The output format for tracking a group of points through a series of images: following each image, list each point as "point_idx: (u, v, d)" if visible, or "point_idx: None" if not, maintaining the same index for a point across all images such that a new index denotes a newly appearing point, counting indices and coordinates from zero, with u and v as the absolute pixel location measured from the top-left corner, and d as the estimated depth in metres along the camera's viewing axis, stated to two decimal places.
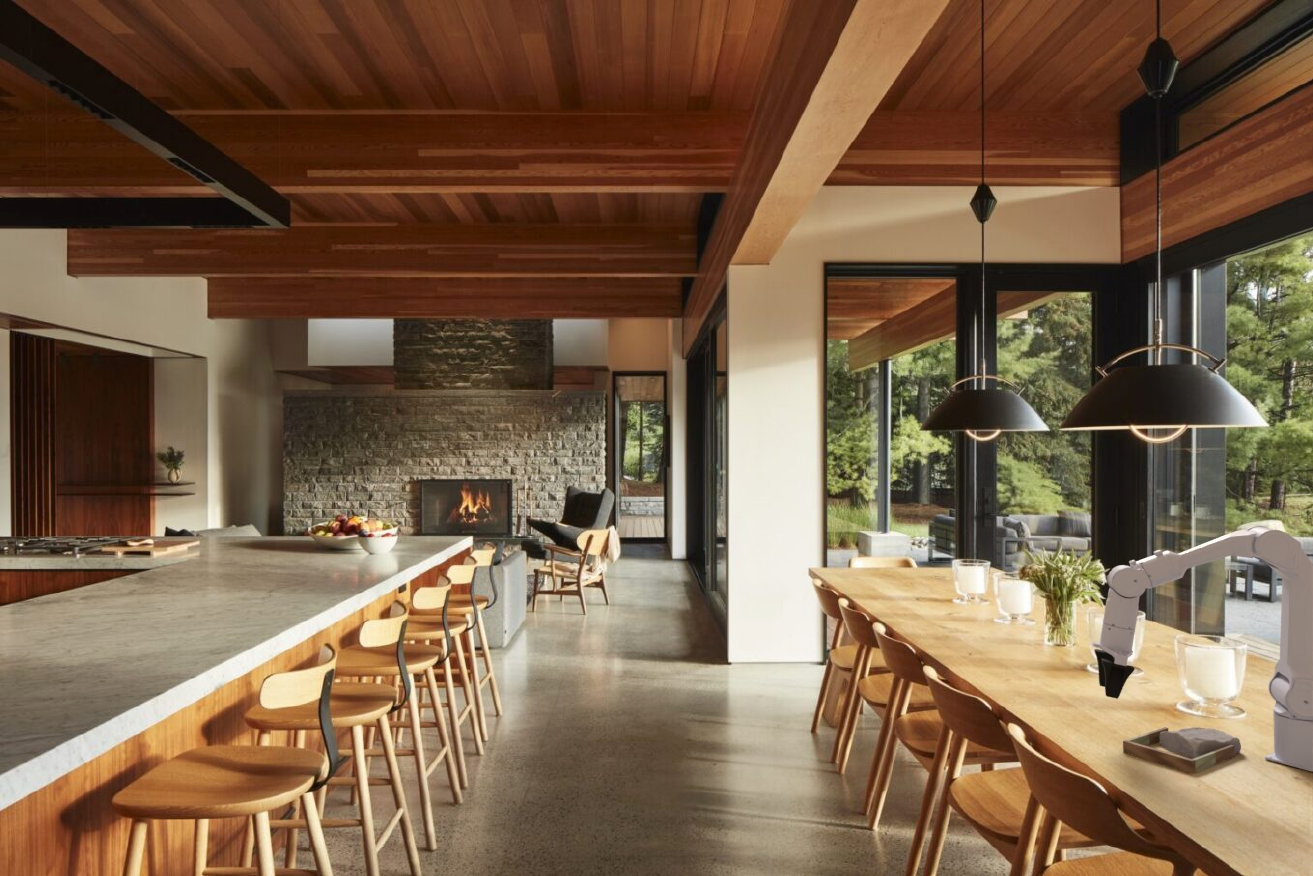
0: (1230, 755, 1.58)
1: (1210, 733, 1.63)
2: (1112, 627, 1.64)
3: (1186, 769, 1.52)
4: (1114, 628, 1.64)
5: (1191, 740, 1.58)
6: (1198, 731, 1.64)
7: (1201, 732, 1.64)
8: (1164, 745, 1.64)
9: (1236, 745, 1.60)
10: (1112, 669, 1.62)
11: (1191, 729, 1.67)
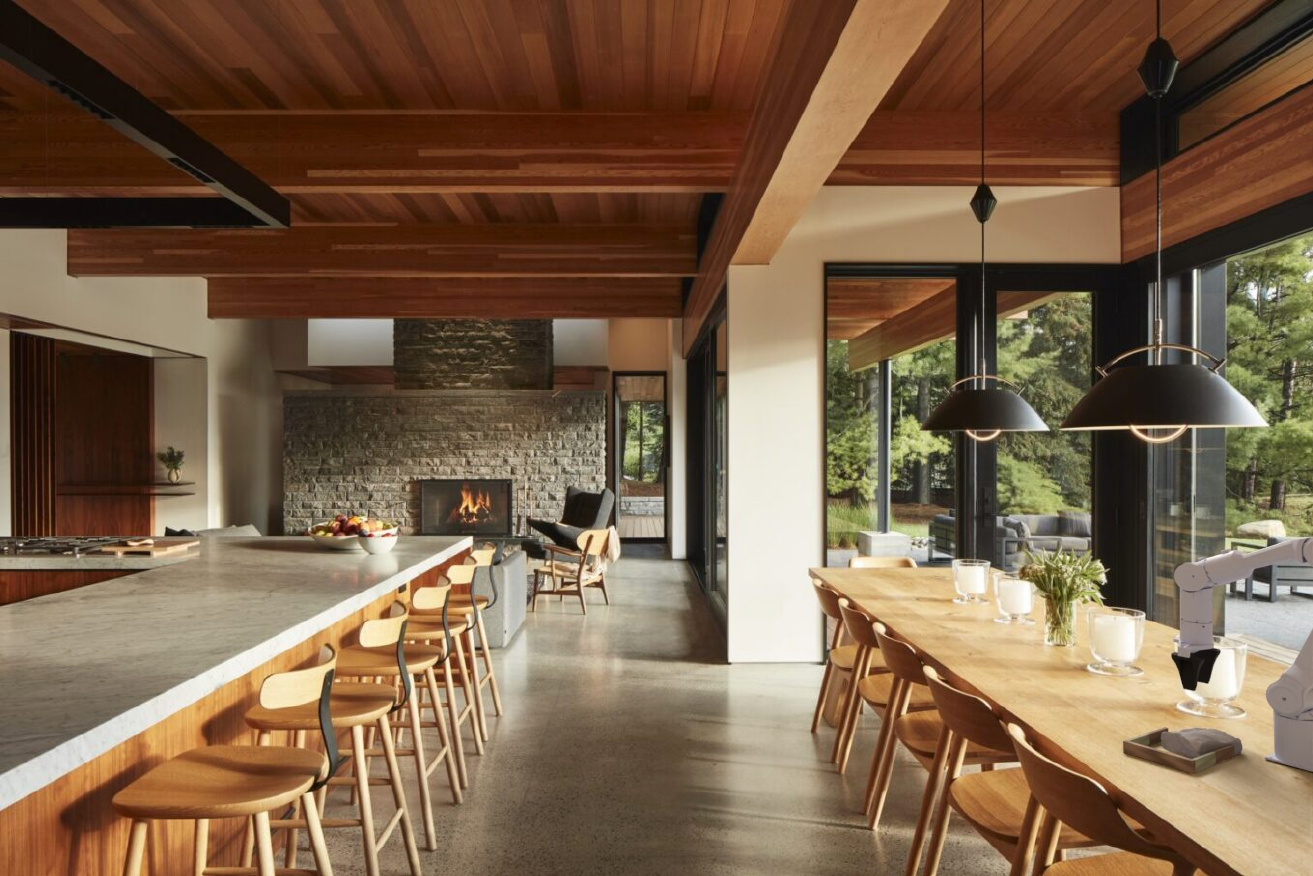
0: (1230, 755, 1.58)
1: (1211, 733, 1.63)
2: (1183, 622, 1.71)
3: (1186, 769, 1.52)
4: (1185, 622, 1.70)
5: (1193, 741, 1.58)
6: (1199, 731, 1.64)
7: (1202, 732, 1.64)
8: (1165, 745, 1.64)
9: (1237, 745, 1.59)
10: (1184, 662, 1.69)
11: (1192, 729, 1.67)
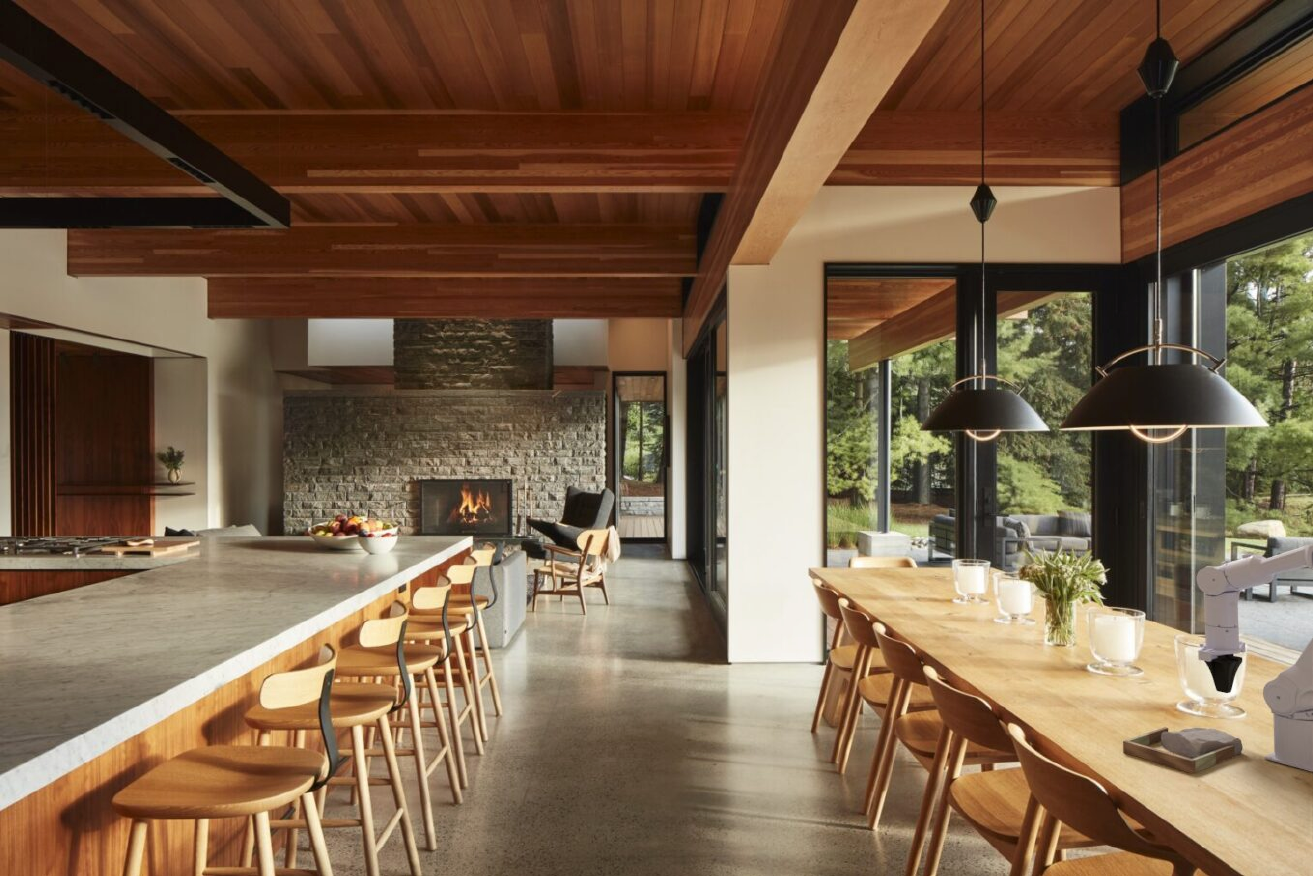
0: (1230, 755, 1.58)
1: (1212, 733, 1.63)
2: (1207, 626, 1.70)
3: (1186, 769, 1.52)
4: (1208, 627, 1.69)
5: (1194, 741, 1.58)
6: (1199, 731, 1.64)
7: (1202, 732, 1.63)
8: (1166, 746, 1.64)
9: (1237, 745, 1.59)
10: (1216, 664, 1.70)
11: (1192, 729, 1.67)
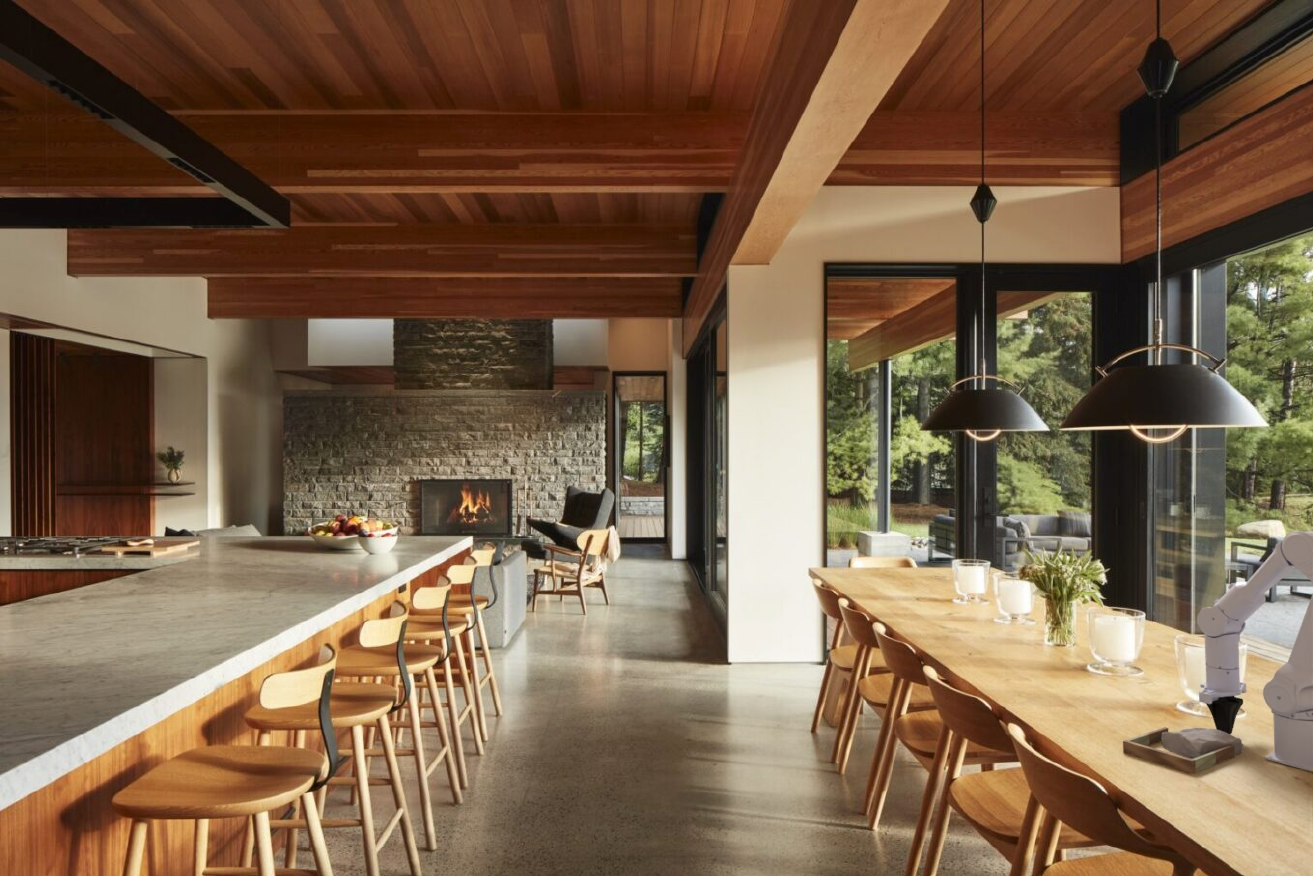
0: (1230, 755, 1.58)
1: (1212, 733, 1.63)
2: (1208, 667, 1.69)
3: (1186, 769, 1.52)
4: (1209, 668, 1.69)
5: (1194, 741, 1.58)
6: (1200, 731, 1.64)
7: (1203, 732, 1.63)
8: (1166, 746, 1.64)
9: (1238, 745, 1.60)
10: (1217, 705, 1.69)
11: (1193, 729, 1.67)
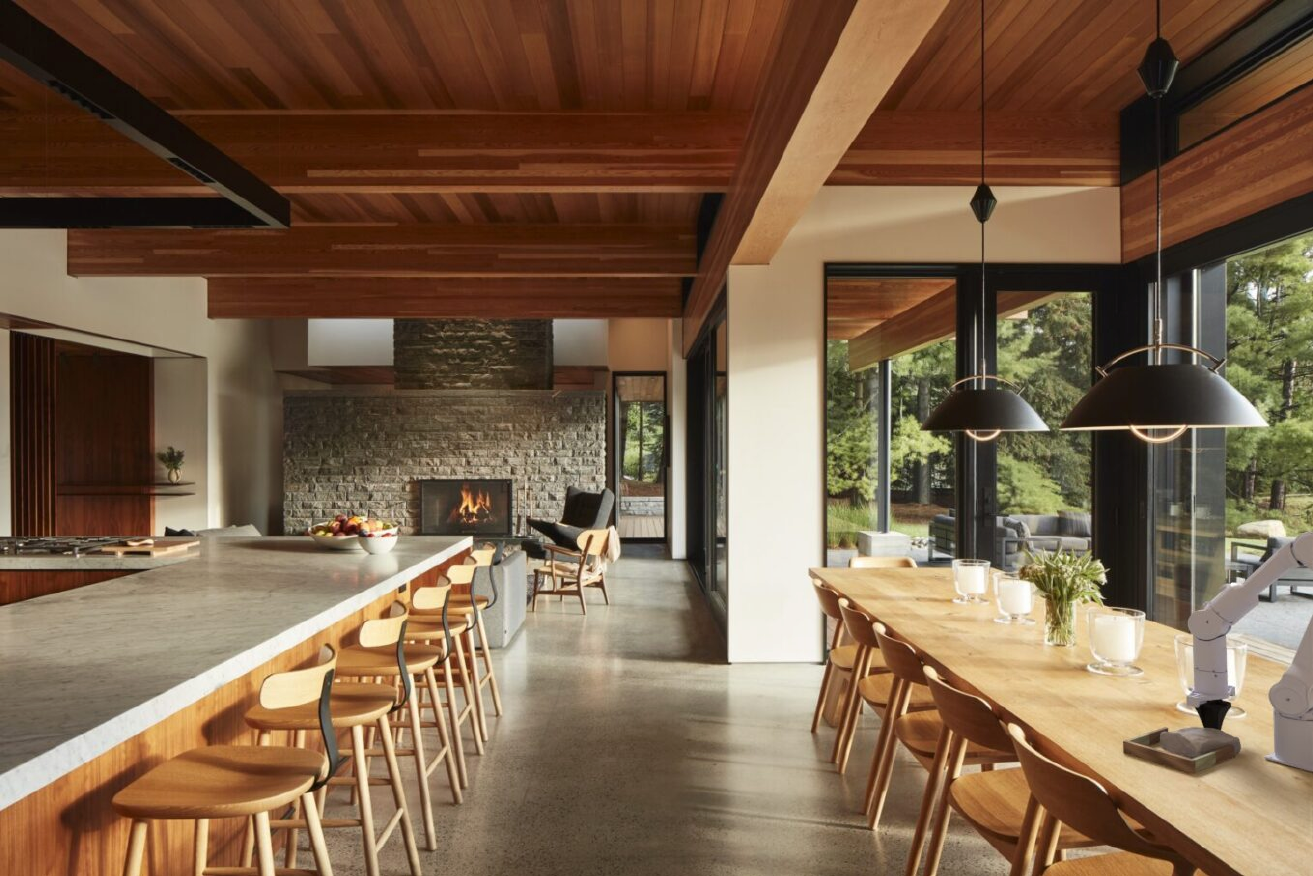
0: (1230, 755, 1.58)
1: (1210, 733, 1.62)
2: (1196, 670, 1.67)
3: (1186, 769, 1.52)
4: (1197, 671, 1.67)
5: (1194, 741, 1.58)
6: (1198, 731, 1.64)
7: (1201, 731, 1.63)
8: (1165, 746, 1.63)
9: (1236, 744, 1.59)
10: (1206, 708, 1.67)
11: (1190, 729, 1.67)
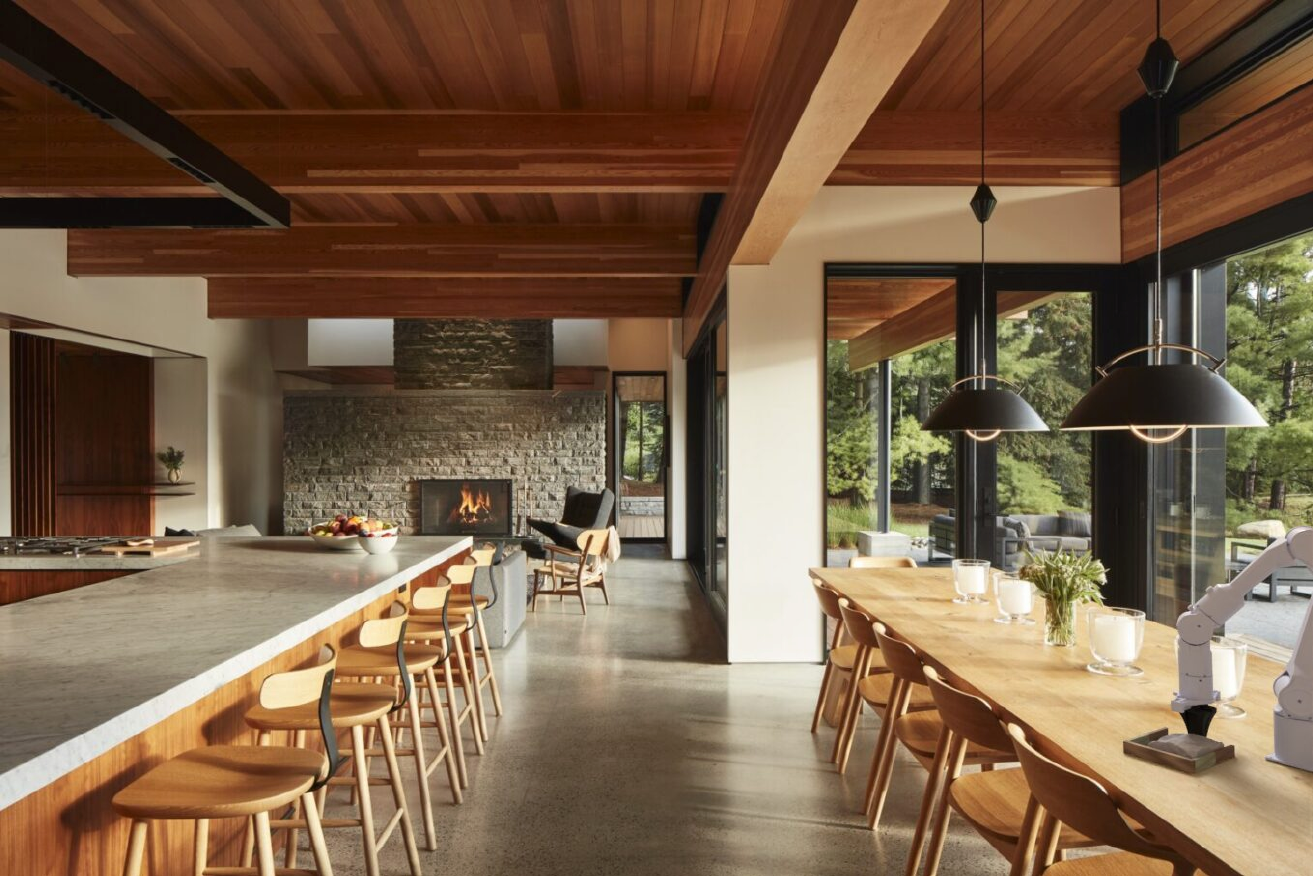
0: (1230, 755, 1.58)
1: (1195, 739, 1.60)
2: (1180, 674, 1.64)
3: (1186, 769, 1.52)
4: (1182, 675, 1.64)
5: (1189, 750, 1.54)
6: (1183, 738, 1.61)
7: (1186, 738, 1.60)
8: None
9: None
10: (1190, 714, 1.64)
11: (1172, 736, 1.64)
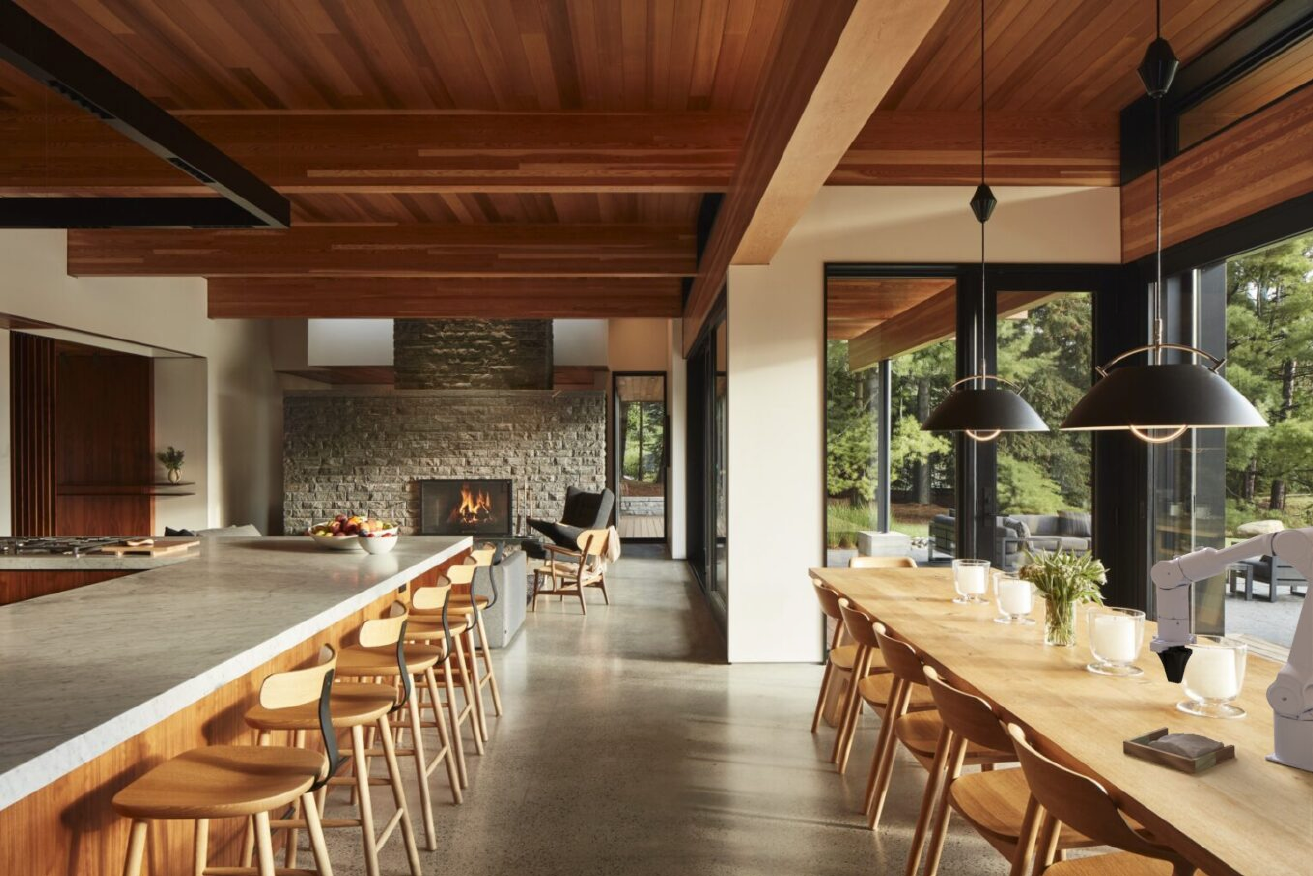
0: (1230, 755, 1.58)
1: (1195, 739, 1.60)
2: (1159, 618, 1.75)
3: (1186, 769, 1.52)
4: (1160, 619, 1.74)
5: (1189, 750, 1.54)
6: (1183, 738, 1.61)
7: (1186, 738, 1.60)
8: None
9: None
10: (1168, 655, 1.75)
11: (1171, 736, 1.64)
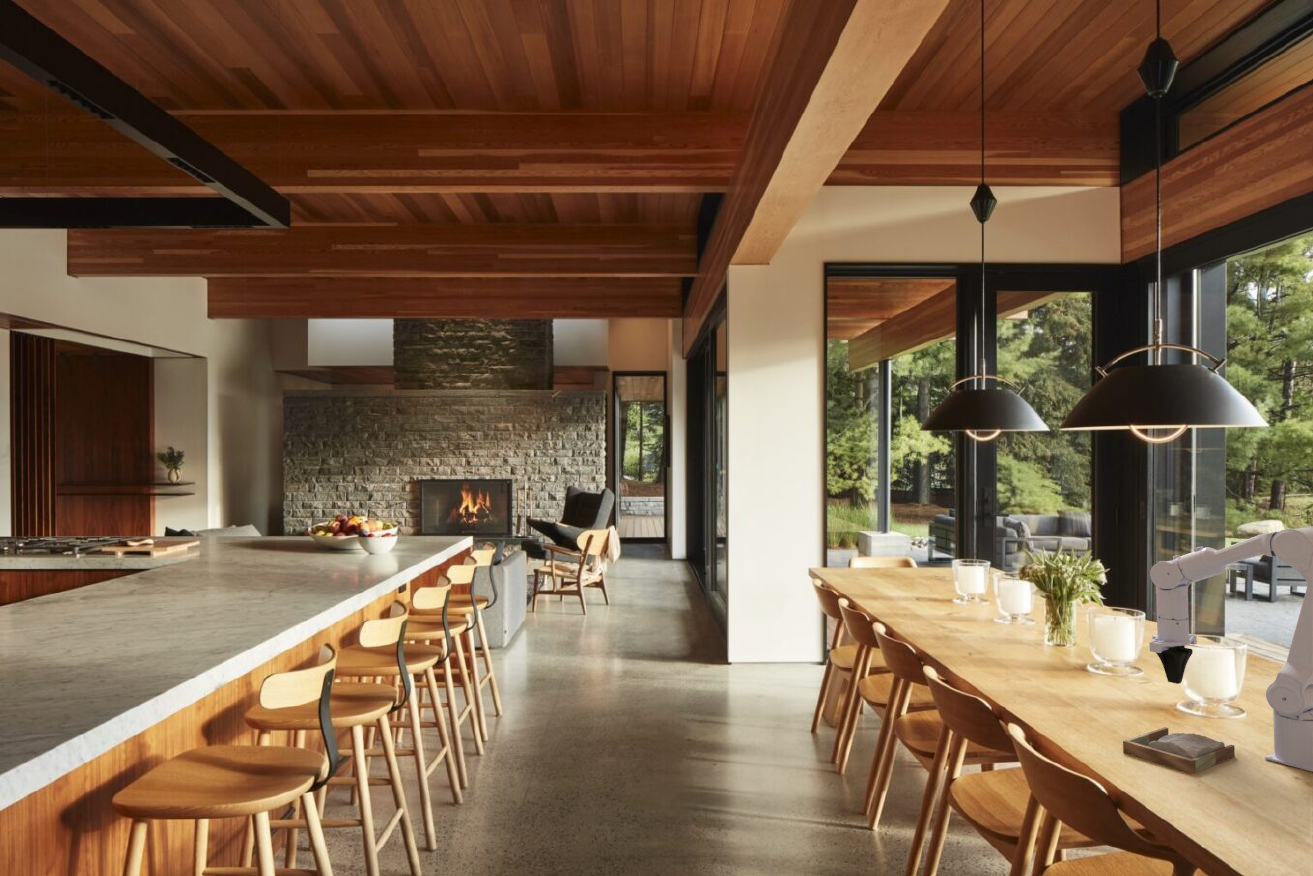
0: (1230, 755, 1.58)
1: (1196, 739, 1.60)
2: (1159, 619, 1.75)
3: (1186, 769, 1.52)
4: (1160, 619, 1.75)
5: (1189, 750, 1.54)
6: (1183, 738, 1.61)
7: (1187, 738, 1.60)
8: None
9: None
10: (1168, 655, 1.75)
11: (1172, 736, 1.64)
